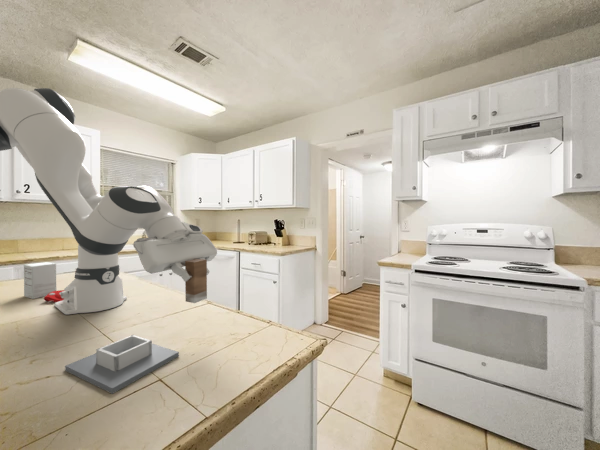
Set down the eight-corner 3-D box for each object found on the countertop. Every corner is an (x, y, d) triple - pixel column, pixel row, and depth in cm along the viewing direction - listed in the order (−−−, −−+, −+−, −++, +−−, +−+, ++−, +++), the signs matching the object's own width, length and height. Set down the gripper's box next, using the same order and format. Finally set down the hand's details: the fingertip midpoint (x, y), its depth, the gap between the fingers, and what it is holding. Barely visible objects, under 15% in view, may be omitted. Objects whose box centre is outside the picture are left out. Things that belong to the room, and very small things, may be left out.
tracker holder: (76, 299, 94) (41, 296, 90) (73, 310, 95) (38, 307, 90) (87, 284, 105) (56, 281, 100) (85, 294, 105) (54, 291, 101)
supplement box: (48, 291, 106) (48, 261, 106) (56, 294, 103) (56, 263, 103) (23, 296, 100) (23, 264, 99) (31, 299, 96) (31, 266, 96)
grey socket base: (65, 370, 52) (65, 351, 52) (133, 341, 65) (134, 325, 65) (112, 393, 45) (112, 371, 45) (178, 356, 58) (178, 338, 58)
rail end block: (185, 301, 63) (185, 261, 62) (198, 296, 66) (197, 258, 66) (194, 303, 61) (194, 262, 61) (206, 298, 65) (206, 259, 65)
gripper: (136, 230, 56) (167, 278, 53) (204, 226, 75) (231, 262, 72) (123, 248, 58) (153, 296, 55) (193, 240, 77) (219, 276, 73)
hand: (198, 276), depth 63 cm, fingers closed on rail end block, 4 cm apart
